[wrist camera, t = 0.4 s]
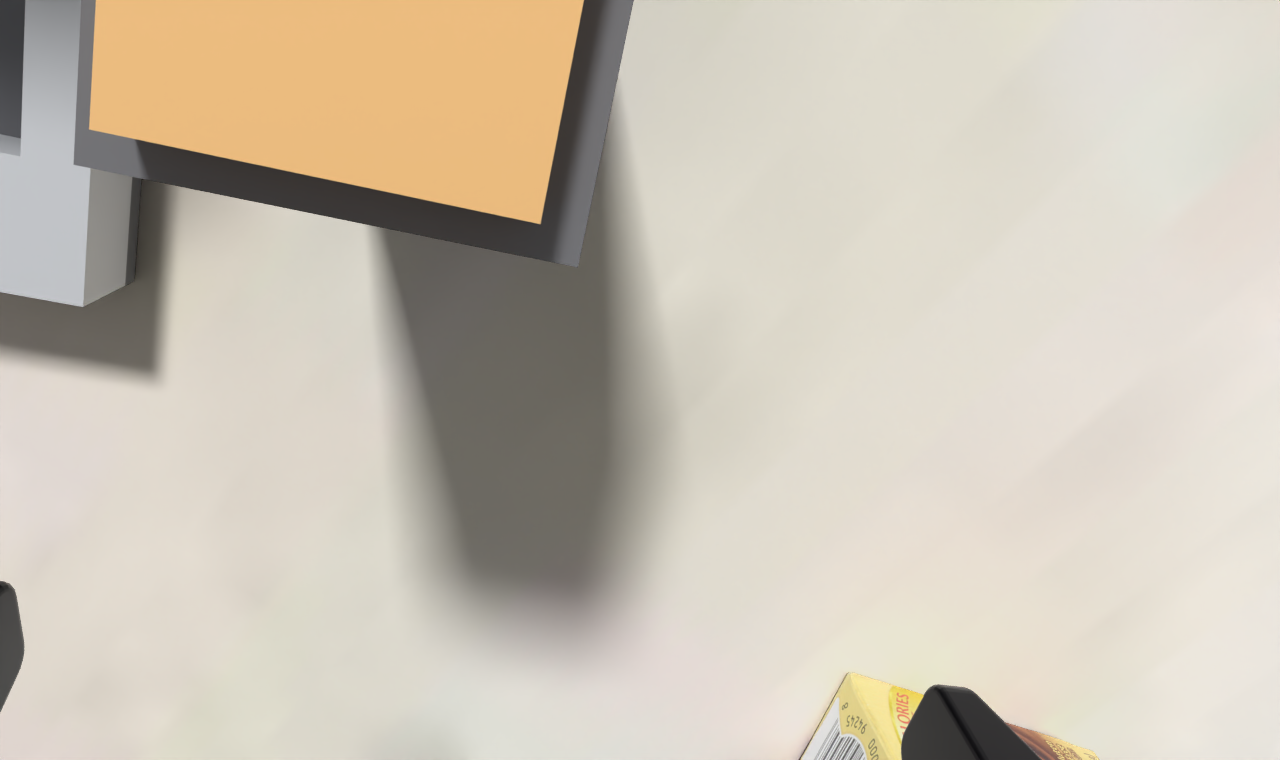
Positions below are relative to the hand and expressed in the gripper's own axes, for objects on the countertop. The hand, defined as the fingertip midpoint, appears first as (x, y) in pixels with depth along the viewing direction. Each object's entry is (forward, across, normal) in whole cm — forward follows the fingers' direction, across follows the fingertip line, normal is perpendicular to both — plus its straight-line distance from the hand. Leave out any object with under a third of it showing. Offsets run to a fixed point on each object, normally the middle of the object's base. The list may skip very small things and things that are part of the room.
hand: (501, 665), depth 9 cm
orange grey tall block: (+15, +2, -3) cm, 15 cm away
